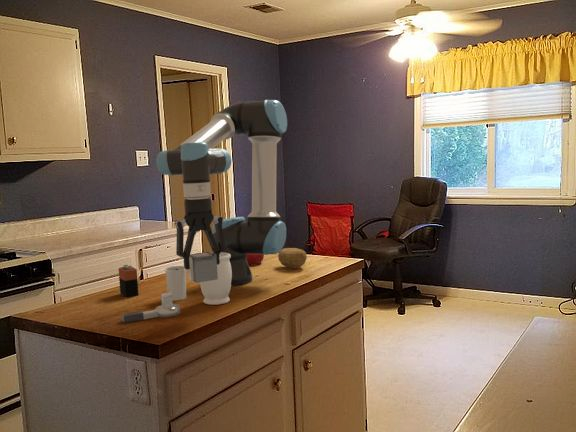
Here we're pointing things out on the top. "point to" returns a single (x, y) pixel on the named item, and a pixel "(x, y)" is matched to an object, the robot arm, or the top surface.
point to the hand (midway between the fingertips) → (202, 277)
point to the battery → (128, 281)
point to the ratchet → (161, 311)
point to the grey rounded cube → (204, 267)
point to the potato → (292, 257)
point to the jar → (219, 283)
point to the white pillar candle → (176, 282)
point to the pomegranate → (254, 258)
